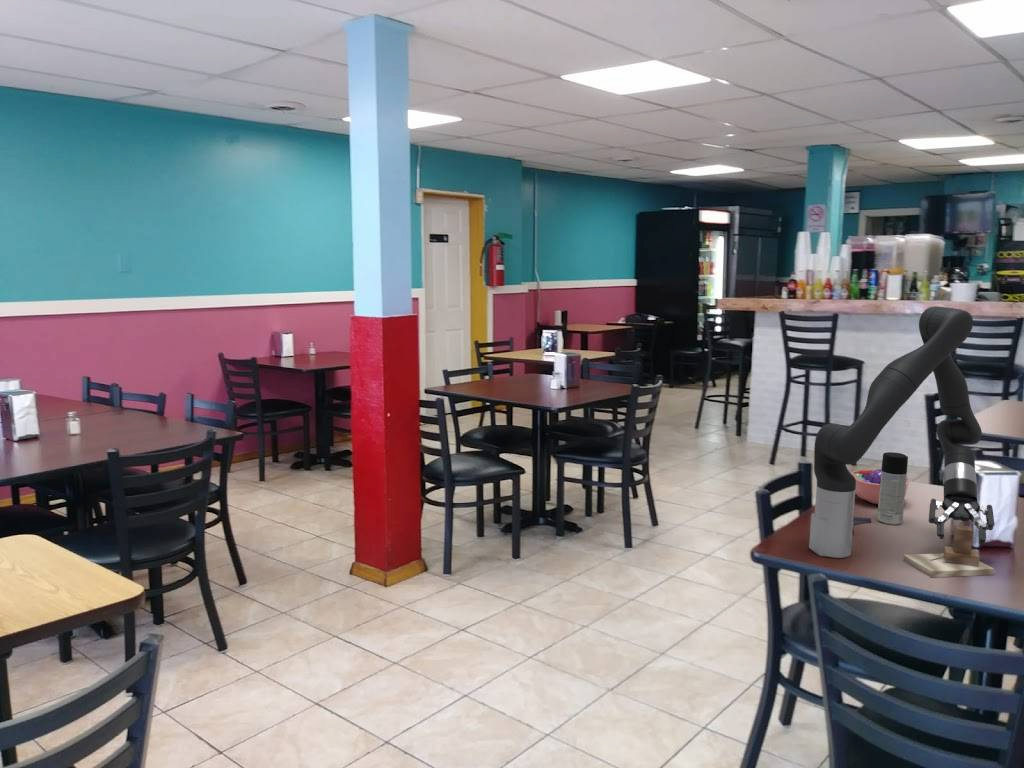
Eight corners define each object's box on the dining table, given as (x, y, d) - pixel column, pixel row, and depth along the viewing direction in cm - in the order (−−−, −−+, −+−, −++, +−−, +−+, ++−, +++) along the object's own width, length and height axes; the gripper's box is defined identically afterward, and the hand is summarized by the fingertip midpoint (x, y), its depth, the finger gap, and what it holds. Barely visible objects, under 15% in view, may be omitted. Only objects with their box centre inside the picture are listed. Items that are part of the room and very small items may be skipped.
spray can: (896, 518, 231) (901, 451, 228) (907, 525, 224) (912, 457, 221) (873, 517, 231) (878, 451, 228) (883, 525, 224) (888, 457, 221)
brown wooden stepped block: (945, 562, 191) (948, 528, 190) (943, 555, 196) (946, 522, 195) (978, 566, 189) (981, 532, 188) (975, 559, 193) (978, 526, 192)
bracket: (822, 535, 218) (823, 525, 217) (817, 518, 232) (817, 509, 231) (879, 540, 214) (879, 530, 213) (869, 523, 228) (870, 514, 228)
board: (931, 577, 186) (931, 571, 186) (903, 560, 197) (903, 554, 196) (993, 574, 188) (994, 568, 188) (962, 558, 199) (962, 552, 198)
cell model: (911, 498, 251) (914, 464, 249) (904, 514, 234) (907, 478, 233) (854, 490, 260) (856, 457, 258) (843, 505, 243) (846, 470, 241)
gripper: (930, 473, 204) (930, 529, 195) (994, 479, 198) (997, 537, 189) (927, 488, 209) (927, 543, 200) (989, 494, 203) (991, 551, 195)
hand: (961, 540), depth 195 cm, fingers open, 8 cm apart
